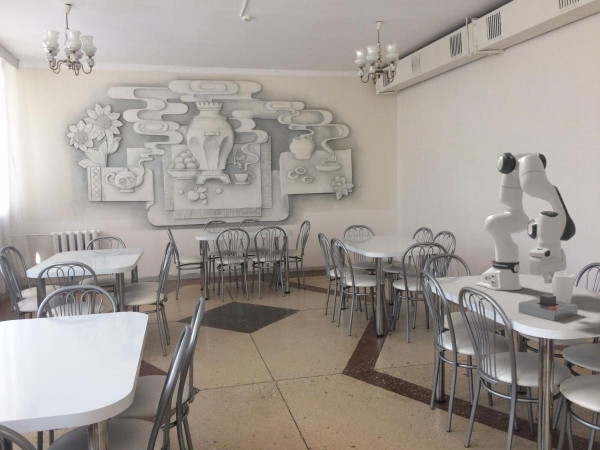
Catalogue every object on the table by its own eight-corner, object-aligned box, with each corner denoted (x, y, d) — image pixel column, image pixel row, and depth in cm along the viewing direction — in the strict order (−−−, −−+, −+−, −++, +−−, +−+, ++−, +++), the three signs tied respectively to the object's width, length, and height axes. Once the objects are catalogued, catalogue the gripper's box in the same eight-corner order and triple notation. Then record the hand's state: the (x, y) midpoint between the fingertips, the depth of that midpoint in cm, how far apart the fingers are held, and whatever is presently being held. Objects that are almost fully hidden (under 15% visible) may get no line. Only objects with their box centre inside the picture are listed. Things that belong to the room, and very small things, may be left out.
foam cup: (564, 306, 213) (564, 277, 212) (546, 302, 221) (546, 274, 220) (579, 303, 217) (579, 275, 216) (560, 299, 225) (561, 272, 224)
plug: (539, 312, 205) (540, 295, 204) (546, 311, 207) (546, 294, 206) (549, 315, 201) (549, 297, 200) (555, 313, 203) (556, 296, 203)
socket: (518, 312, 207) (518, 300, 207) (541, 306, 215) (542, 295, 215) (554, 320, 193) (554, 308, 193) (577, 314, 201) (577, 302, 201)
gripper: (556, 247, 209) (556, 278, 211) (526, 252, 199) (526, 284, 201) (570, 248, 204) (570, 280, 205) (540, 253, 194) (540, 287, 195)
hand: (548, 282), depth 203 cm, fingers closed
